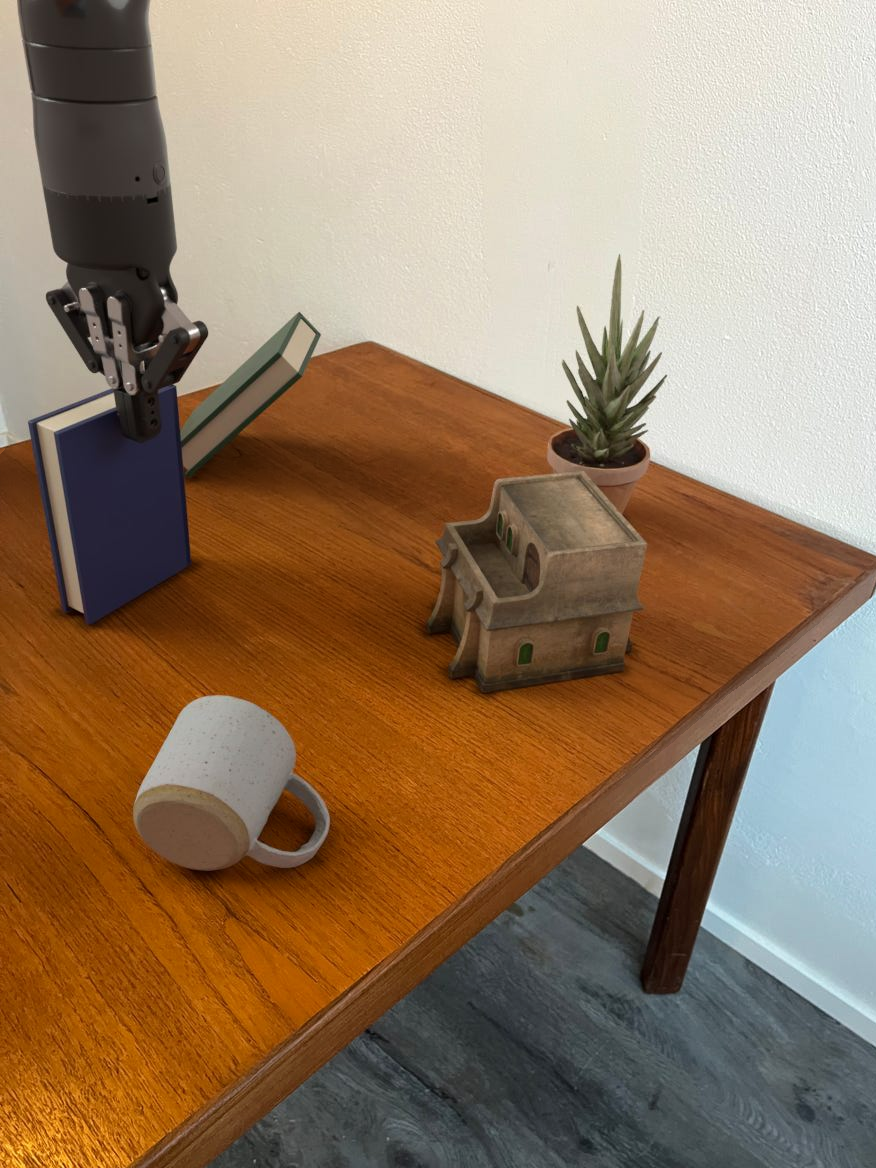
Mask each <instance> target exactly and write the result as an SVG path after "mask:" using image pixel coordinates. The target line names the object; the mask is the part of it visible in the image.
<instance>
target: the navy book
mask: <svg viewBox="0 0 876 1168" xmlns="http://www.w3.org/2000/svg"><path fill="white" fill-rule="evenodd" d="M177 389H178V388H177V385H175V384H173V385H169V386H166V387H164V388H161V389H159V390H158V397H159V405H160V413H161V417H160V418H161V421H162V427H161V431H160V432H159V434H158V436H156V437H155V438H152V439H150V440H148V441H146V442H143V443H139V442H136V441H133V440H131V439H128V438H125V437H124V436H123V435H122V429H121V427H120V424H119V422H118V417H117V411H116V408H117V407H116V404H115V397H114V391H113V388H109V389H106V390H104V391H101V392H99V393H97V394H93V395H91V396H89V397H86V398H83V399H80V400H79V401H76V402H72V403H71V404H69V405H66V406H62V407H60V408H58V409H55V410H52V411H49V412H48V413H47V412H46V413H44V414H42V415H40V416H37V417H34V418H32V419H30V420H27V426H28V430H29V431H28V432H29V435H30V441H31V447H32V452H33V458H34V464H35V468H36V475H37V478H38V485H39V490H40V496H41V497H40V498H41V502H42V508H43V512H44V519H45V523H46V529H47V535H48V541H49V546H50V550H51V551H50V552H51V557H52V562H53V568H54V573H55V579H56V583H57V589H58V595H59V601H60V607H61V611H62V612H64V613H66V614H67V613H69V612H71V611H73V610H75V611H77V612H80V613H82V614H83V616H84V617H83V618H84V623H85V624H87V625H89V626H90V625H92V624H94V623H96V622H97V621H99V620H100V619H103V618H105V616H107V615H109V614H111V613H112V612H115V611H116V610H117V609H119V608H120V607H122V606H124V605H126V604H128V603H129V602H131V601H132V600H135V599H136V598H137V597H139V596H141V595H142V594H144V593H146V592H148V591H149V590H150V589H152V588H154V587H156V586H158V585H159V584H161V583H163V582H164V581H166V580H167V579H170V578H171V577H173V576H174V575H176V574H178V573H180V572H181V571H184V569H186V568H188V567H190V566H191V565H192V555H191V544H190V543H191V541H190V532H189V518H188V507H187V496H186V494H187V493H186V485H185V484H186V483H185V482H186V481H185V473H184V472H185V471H184V466H183V459H182V447H181V435H180V431H181V425H180V413H179V401H178V390H177Z"/></svg>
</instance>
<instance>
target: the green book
mask: <svg viewBox="0 0 876 1168" xmlns="http://www.w3.org/2000/svg"><path fill="white" fill-rule="evenodd" d="M321 337H322V334H321V332H320V331H318V329H317V328H316V327H315V326H314V325H313V324H312V323H311V322H310V321H309V320H308V319H307V318H306V317H305V316H304V315H303V314H302V312H301V311H298V312H296V314H295V315H294V316H293V317H291V319H290V320H288V321H287V322H286V323H285V324H284V325H283V326H281V328H280V329H279V330H278V331H276V332H275V334H274V335H272V336H271V337H270V338H269V339H268V340H267V341H266V342H265V343H264V344H262V346H260V347H259V348H258V349H257V350H256V351H255V352H254V353H253V354H252V355H251V356H250V357H249V358H248V359H246V360H245V361H244V363H243V364H241V365H240V366H239V367H238V368H237V369H236V370H235V371H234V372H233V373H232V374H231V375H230V376H228V377H227V378H226V380H224V381H223V382H222V383H220V384H219V386H218V387H217V388H215V390H214V391H212V392H211V393H210V394H209V395H208V396H207V397H206V398H205V399H204V400H203V401H202V402H201V403H199V404H198V405H197V406H196V407H195V408H194V409H193V411H192V412H191V414H190V415H189V416H188V419H187V420H186V422H185V423H184V425H183V426H182V428H180V435H181V447H182V459H183V468H185V469H186V472H185V473H184V477H185V478H187V479H191V477H193V475H194V474H196V473H197V472H198V471H199V470H200V469H201V468H202V467H203V466H204V465H205V464H207V463H208V462H209V461H210V460H211V459H212V458H213V457H214V456H215V455H217V454H218V453H219V452H220V451H221V450H222V449H224V447H225V446H227V445H228V444H229V443H230V442H231V441H232V440H234V438H236V437H237V436H238V435H239V434H240V433H241V432H243V430H245V429H246V428H247V427H248V426H249V425H250V424H251V423H252V422H254V421H255V420H256V419H257V418H258V417H259V416H260V415H261V414H262V413H263V412H265V411H266V410H267V409H268V408H269V407H270V406H271V405H273V404H274V403H275V402H276V401H277V400H278V399H279V398H280V397H281V396H283V395H284V394H285V393H286V392H287V391H288V390H289V389H290V388H292V386H294V385H295V384H296V383H297V382H298V381H299V380H301V378H303V376H304V373H306V370H307V367H308V365H309V363H310V360H311V358H312V356H313V354H314V352H315V349H316V348H317V345H318V343H319V341H320V339H321Z"/></svg>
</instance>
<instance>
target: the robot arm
mask: <svg viewBox="0 0 876 1168" xmlns="http://www.w3.org/2000/svg"><path fill="white" fill-rule="evenodd" d="M16 3H17V4H16V7H17V15H18V23H19V30H20V37H21V38H22V39H21V42H22V47H23V55H24V60H25V65H26V71H27V78H28V82H29V90H30V91H31V92H30V94H31V104H32V126H33V127H32V129H33V138H34V143H35V144H34V145H35V151H36V156H37V162H38V169H39V173H40V174H39V175H40V180H41V185H42V192H43V198H44V203H45V207H46V214H47V220H48V221H47V222H48V226H49V231H50V238H51V243H52V244H51V245H52V249H53V252H54V254H55V255H56V256H57V257H58V258H59V259H60V260H61V261H63V262H65V263H67V264H66V268H65V275H66V280H67V281H66V282H65V283H64V284H63V285H62V286H61V287H59V288H56V289H52V290H49V291H47V292H46V293H45V300H46V303H47V305H48V307H49V308H50V310H51V311H52V313H53V315H54V316H55V318H56V320H57V322H58V323H59V325H60V326H61V328H62V329H63V331H64V333H65V334H66V335H67V337H68V339H69V341H70V343H71V344H72V345H73V347H74V349H75V350H76V352H77V353H78V355H79V356H80V359H81V360H82V361H83V363H84V365H85V366H86V368H87V369H88V371H89V372H91V373H92V374H98V373H100V374H101V375H103V376H104V378H105V381H106V383H107V385H108V386H109V388H110V389H112V388H113V391H114V397H115V404H116V407H117V408H116V411H117V417H118V422H119V424H120V427H121V429H122V435H123V436H124V437H125V438H128V439H131V440H133V441H136V442H139V443H143V442H146V441H148V440H150V439H152V438H155V437H156V436H158V434H159V432H160V431H161V427H162V421H161V418H160V417H161V413H160V405H159V397H158V390H159V389H161V388H164V387H166V386H169V385H175V384H177V383H180V381H181V380H182V379H183V377H184V375H185V373H186V372H187V370H188V369H189V368H190V365H191V364H192V362H193V361H194V359H195V358H196V356H197V354H198V353H199V351H200V349H201V348H202V347H203V345H204V344H205V342H206V340H207V338H208V337H209V328H208V326H207V325H206V323H205V322H203V321H202V320H196V321H193V322H191V320H190V318H188V316H187V315H186V314H185V313H184V311H183V310H182V309H181V308H180V307H179V305H178V302H179V294H178V290H177V287H176V286H175V284H174V281H173V278H172V274H171V264H172V261H173V259H174V257H175V255H176V253H177V250H178V241H177V232H176V223H175V214H174V204H173V193H172V182H171V175H170V174H171V173H170V165H169V155H168V144H167V138H166V133H165V127H164V124H163V119H162V114H161V111H160V105H159V99H158V95H157V94H158V92H157V91H158V90H157V81H156V73H155V64H154V53H153V45H152V34H151V27H150V19H149V18H150V8H151V0H16ZM89 338H90V339H89ZM90 340H91V341H90Z"/></svg>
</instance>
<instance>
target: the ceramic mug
mask: <svg viewBox="0 0 876 1168" xmlns="http://www.w3.org/2000/svg"><path fill="white" fill-rule="evenodd" d="M296 752H297V751H296V746H295V742H294V741H293V739H292V737H291V735H290V733H289V732H288V730H287V728H286V727H285V726H284V725H283V723H281V722H280V720H279V719H277V718H275V716H274V715H272V714H271V713H270V712H268V711H267V710H265V709H264V708H262V707H260V706H259V705H256V704H255V703H253V702H251V701H248V700H245V699H242V698H237V697H235V696H230V695H222V694H221V695H220V694H219V695H218V694H217V695H215V694H214V695H207V696H206V695H205V696H202V697H199V698H196V699H194V700H192V701H191V702H189V703H187V704H186V705H185V707H183V708H182V710H181V711H180V712H179V714H178V716H177V718H176V720H175V722H174V723H173V726H172V728H171V730H170V731H169V733H168V735H167V737H166V738H165V740H164V742H163V744H162V745H161V747H160V749H159V751H158V753H157V755H156V756H155V759H154V760H153V763H152V764H151V766H150V767H149V770H148V771H147V773H146V774H145V776H144V778H143V780H142V782H141V785H140V786H139V789H138V790H137V793H136V798H135V801H134V802H133V809H132V820H133V823H134V827H135V829H136V831H137V833H138V835H139V836H140V838H141V839H142V841H143V842H144V843H145V844H146V845H147V846H148V847H149V848H150V849H151V850H152V851H153V852H154V853H155V854H157V855H158V856H160V857H161V858H163V859H165V860H166V861H167V862H170V863H172V864H174V865H177V866H180V867H182V868H186V869H190V870H194V871H205V872H209V871H218V870H224V869H227V868H231V867H233V866H234V865H236V864H238V863H239V862H240V861H241V860H242V859H244V858H245V857H247V856H248V857H249V858H252V859H253V860H255V861H257V862H259V863H260V864H262V865H265V866H272V867H274V868H280V869H290V868H296V867H299V866H301V865H303V864H305V863H306V862H308V861H310V860H311V859H312V858H314V856H315V855H316V854H317V852H318V851H319V849H320V848H321V847H322V845H323V843H324V842H325V840H326V838H327V836H328V834H329V831H330V824H331V819H330V818H331V817H330V813H329V809H328V807H327V805H326V804H325V801H324V800H323V798H322V797H321V795H320V794H319V793H318V791H316V789H314V787H313V786H312V785H311V784H309V783H308V782H307V781H306V780H305V779H304V778H302V777H301V776H299V775H298V774H296V773H294V772H293V771H294V769H295V766H296V759H297V753H296ZM284 790H285V791H287V792H289V793H290V794H291V795H293V796H294V797H295V798H296V799H298V800H299V801H300V802H301V803H302V804H303V805H304V806H305V807H306V808H307V809H308V810H309V813H310V814H311V815H312V817H313V820H314V822H315V826H314V827H315V829H314V831H313V833H312V834H311V837H310V839H309V840H308V842H307V843H305V844H303V845H301V846H300V848H299V849H297V851H287V850H286V851H284V850H281V849H279V848H274V847H271V846H269V845H268V844H266V843H262V842H261V841H259V840H258V838H259V837H260V835H261V833H262V831H263V830H264V827H265V825H266V824H267V822H268V818H269V816H270V814H271V813H272V811H273V809H274V807H275V806H276V804H277V802H278V801H279V799H280V797H281V795H282V793H283V791H284Z"/></svg>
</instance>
